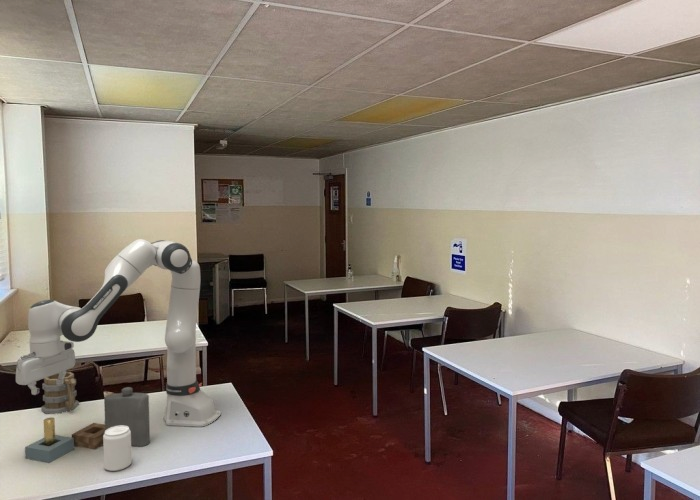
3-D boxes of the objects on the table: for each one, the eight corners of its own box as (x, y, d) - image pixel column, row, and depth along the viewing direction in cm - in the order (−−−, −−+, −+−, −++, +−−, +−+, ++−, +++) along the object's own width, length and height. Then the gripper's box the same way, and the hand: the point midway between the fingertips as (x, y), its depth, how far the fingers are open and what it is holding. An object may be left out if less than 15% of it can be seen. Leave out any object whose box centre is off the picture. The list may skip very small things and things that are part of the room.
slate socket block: (74, 449, 170) (73, 437, 170) (49, 462, 161) (48, 451, 160) (51, 445, 173) (51, 434, 173) (25, 458, 164) (25, 446, 163)
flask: (152, 439, 178) (151, 385, 177) (146, 446, 172) (145, 391, 171) (110, 440, 177) (108, 386, 176) (103, 447, 171) (101, 392, 170)
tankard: (38, 408, 206) (36, 373, 205) (70, 400, 215) (69, 366, 214) (56, 421, 193) (54, 384, 192) (90, 411, 203) (88, 376, 202)
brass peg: (58, 452, 168) (56, 418, 167) (50, 456, 165) (48, 421, 164) (50, 450, 169) (49, 417, 168) (42, 455, 166) (41, 420, 165)
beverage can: (99, 467, 158) (97, 431, 157) (122, 457, 165) (121, 422, 164) (113, 475, 153) (112, 437, 153) (136, 464, 160) (135, 428, 159)
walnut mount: (116, 436, 180) (115, 426, 180) (94, 449, 170) (94, 438, 170) (94, 433, 183) (93, 422, 182) (71, 445, 173) (71, 434, 173)
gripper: (24, 358, 153) (27, 401, 155) (77, 341, 173) (79, 379, 174) (9, 356, 155) (12, 399, 156) (63, 340, 175) (65, 378, 176)
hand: (48, 388), depth 165 cm, fingers open, 8 cm apart
